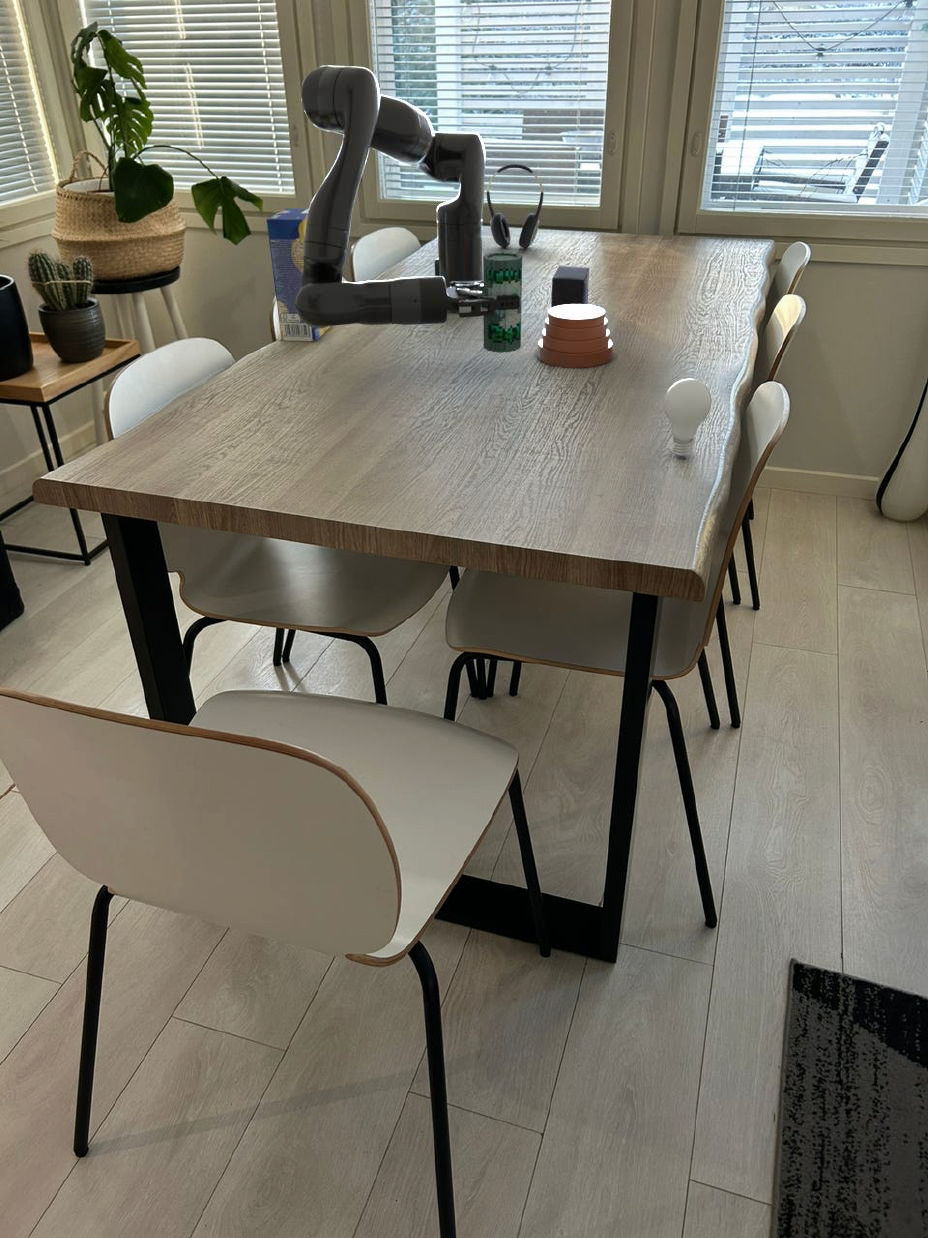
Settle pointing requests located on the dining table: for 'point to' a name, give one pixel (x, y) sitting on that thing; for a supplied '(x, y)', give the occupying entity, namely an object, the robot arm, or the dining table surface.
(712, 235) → the dining table surface
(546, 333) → the orange stepped round pedestal
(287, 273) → the blue cracker box
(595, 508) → the dining table surface
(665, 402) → the lightbulb
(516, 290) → the can
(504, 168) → the headphones
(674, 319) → the dining table surface
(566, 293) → the small box
